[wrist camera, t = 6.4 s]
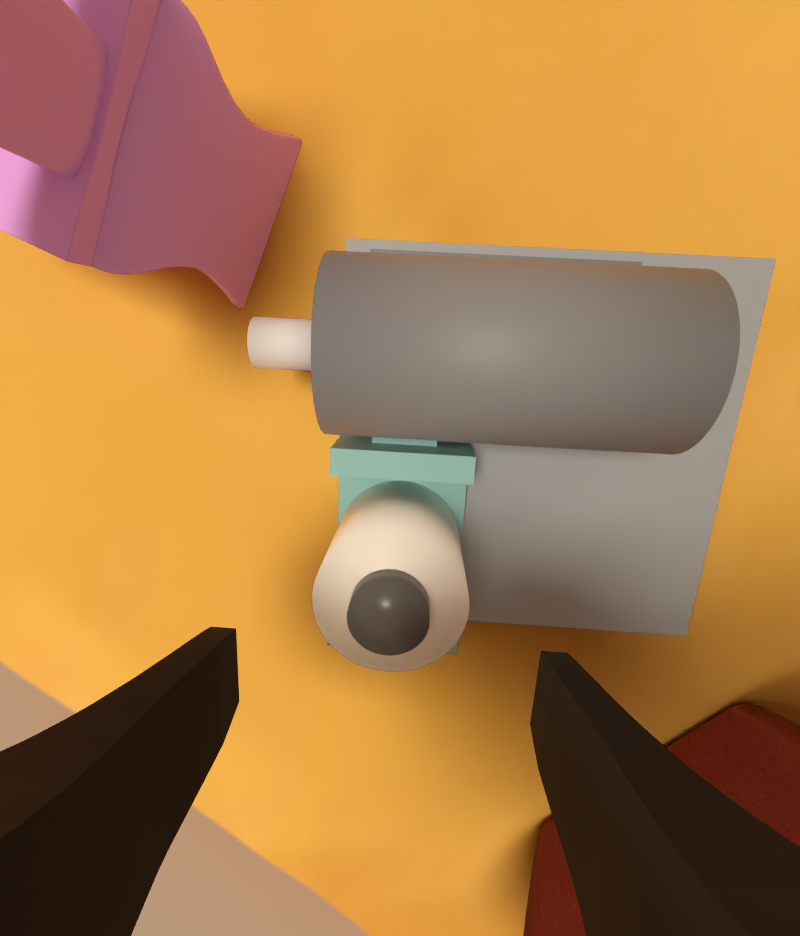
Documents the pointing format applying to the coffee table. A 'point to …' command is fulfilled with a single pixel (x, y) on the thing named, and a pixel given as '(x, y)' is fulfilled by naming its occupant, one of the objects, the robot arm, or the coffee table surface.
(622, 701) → the coffee table surface
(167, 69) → the toy chair
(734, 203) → the coffee table surface
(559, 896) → the plant pot
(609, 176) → the coffee table surface
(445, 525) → the cream canister
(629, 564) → the motor assembly
